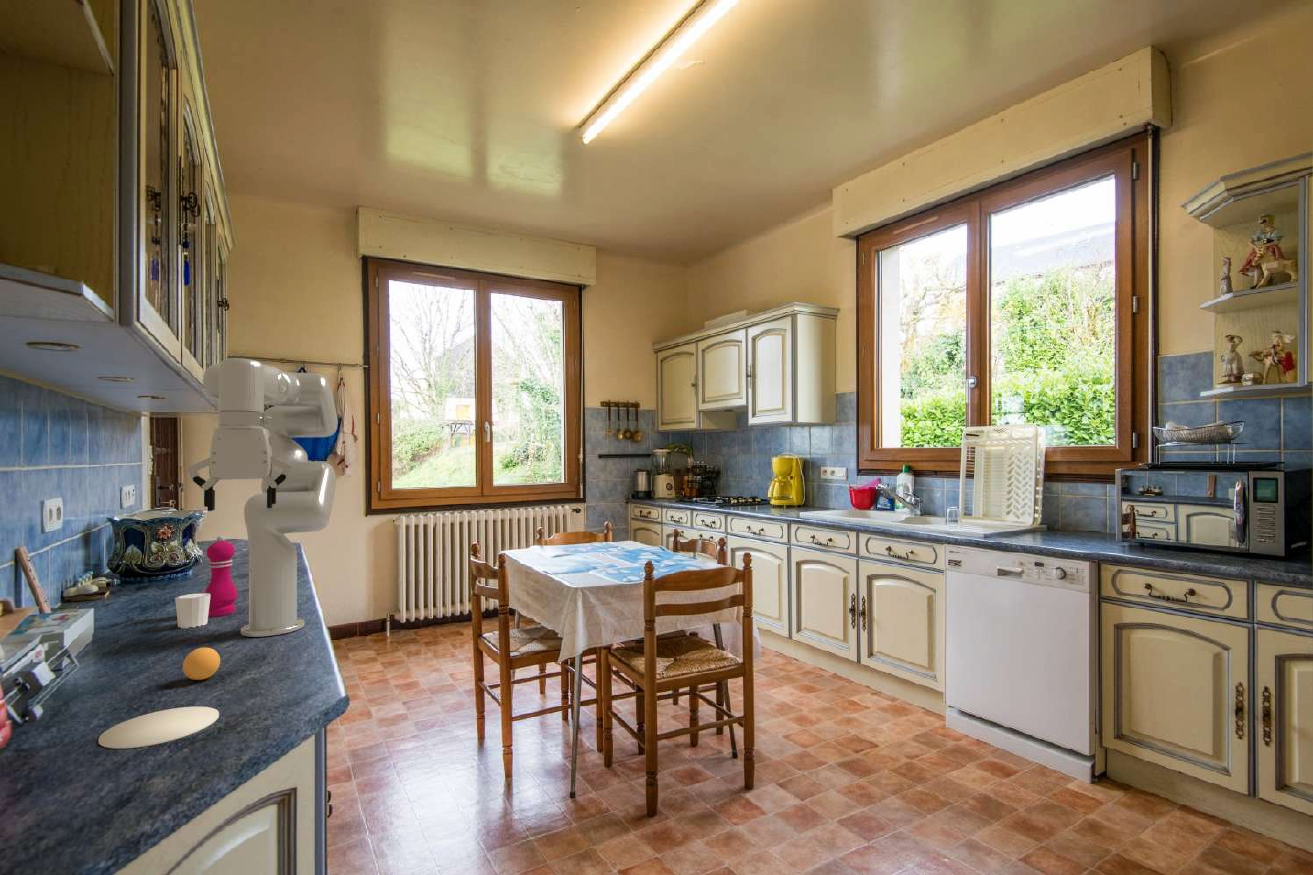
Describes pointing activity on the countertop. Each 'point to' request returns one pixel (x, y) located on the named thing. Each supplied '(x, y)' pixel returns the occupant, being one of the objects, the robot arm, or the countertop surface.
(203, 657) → the ball
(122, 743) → the disc
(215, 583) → the pepper mill
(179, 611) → the white fluted cup
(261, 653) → the countertop surface
